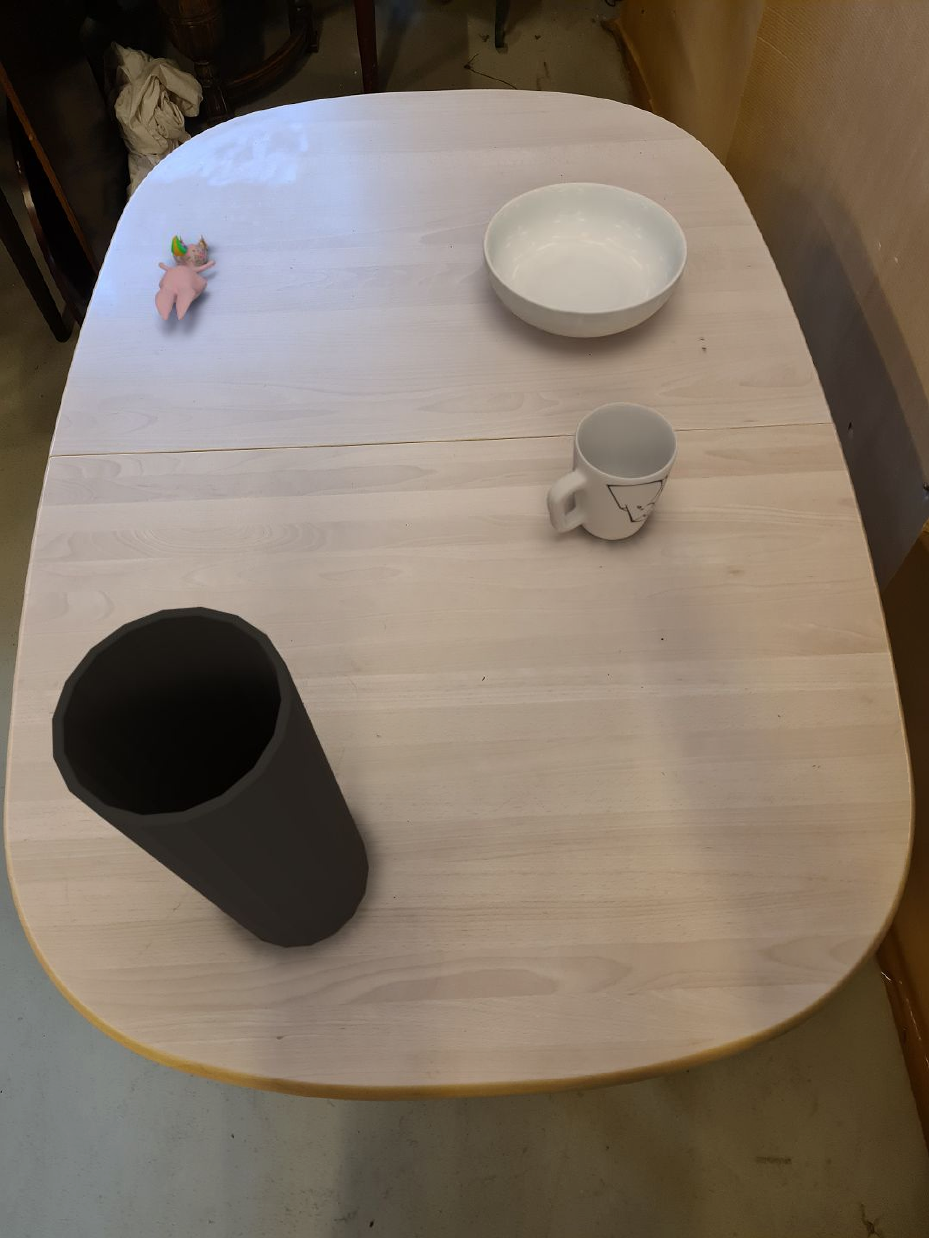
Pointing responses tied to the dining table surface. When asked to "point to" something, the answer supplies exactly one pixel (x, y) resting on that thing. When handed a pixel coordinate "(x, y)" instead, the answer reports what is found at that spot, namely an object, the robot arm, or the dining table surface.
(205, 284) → the pink soft figure
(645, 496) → the mug
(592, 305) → the serving bowl
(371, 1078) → the dining table surface
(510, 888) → the dining table surface
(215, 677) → the vase
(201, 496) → the dining table surface
